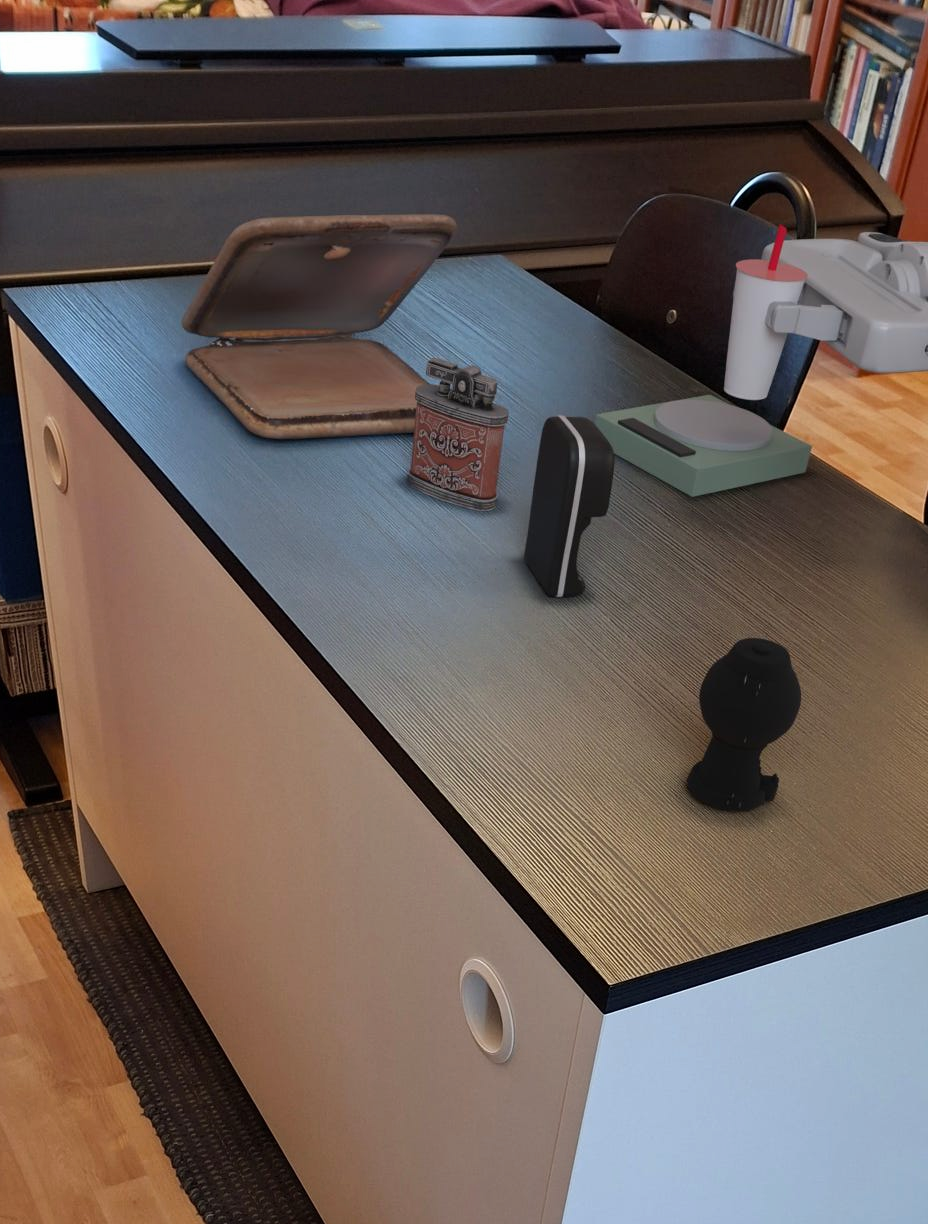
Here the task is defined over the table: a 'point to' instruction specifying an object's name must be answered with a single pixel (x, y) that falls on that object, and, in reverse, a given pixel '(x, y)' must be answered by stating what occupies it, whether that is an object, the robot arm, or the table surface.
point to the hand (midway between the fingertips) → (753, 303)
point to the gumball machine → (744, 723)
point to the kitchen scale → (703, 444)
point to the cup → (758, 322)
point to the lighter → (457, 436)
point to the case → (313, 322)
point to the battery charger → (566, 499)
